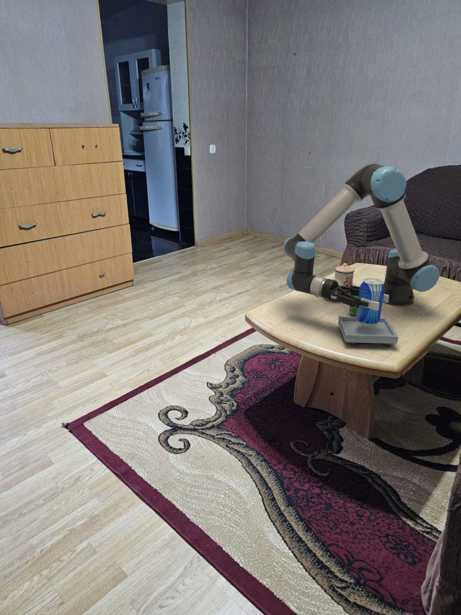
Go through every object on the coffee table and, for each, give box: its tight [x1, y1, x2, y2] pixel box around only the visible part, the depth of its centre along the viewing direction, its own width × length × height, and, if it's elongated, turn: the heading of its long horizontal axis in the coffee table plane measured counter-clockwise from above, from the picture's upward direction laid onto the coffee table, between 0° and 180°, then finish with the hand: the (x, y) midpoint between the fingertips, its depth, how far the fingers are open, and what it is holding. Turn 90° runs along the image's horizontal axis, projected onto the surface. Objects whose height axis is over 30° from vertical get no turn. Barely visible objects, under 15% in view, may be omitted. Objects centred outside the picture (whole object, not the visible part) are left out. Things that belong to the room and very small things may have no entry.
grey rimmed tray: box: [337, 315, 399, 348], centre depth 161 cm, size 18×16×5 cm
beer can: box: [356, 277, 385, 326], centre depth 156 cm, size 8×8×16 cm
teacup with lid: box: [334, 262, 355, 286], centre depth 211 cm, size 12×9×12 cm
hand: (383, 302), depth 153 cm, fingers closed on beer can, 8 cm apart
